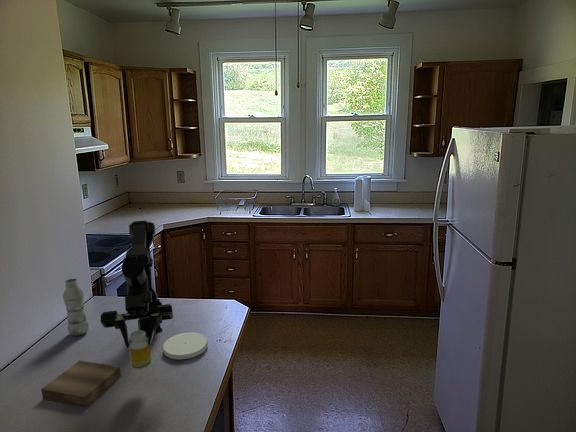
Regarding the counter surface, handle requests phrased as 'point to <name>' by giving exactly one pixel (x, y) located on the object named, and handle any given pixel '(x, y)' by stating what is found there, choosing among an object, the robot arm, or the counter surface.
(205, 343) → the plastic lid
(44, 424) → the counter surface
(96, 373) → the walnut plinth
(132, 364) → the supplement bottle
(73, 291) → the plastic bottle
